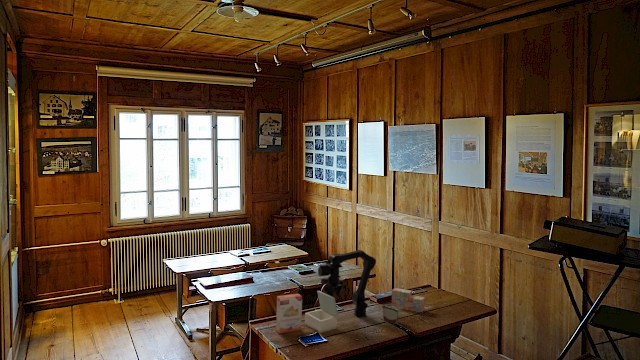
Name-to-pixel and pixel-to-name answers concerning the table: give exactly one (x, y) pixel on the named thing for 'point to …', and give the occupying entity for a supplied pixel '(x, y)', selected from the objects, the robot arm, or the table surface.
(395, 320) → the food container
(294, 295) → the cracker box
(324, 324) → the chest
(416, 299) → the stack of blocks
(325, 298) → the chest lid
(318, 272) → the robot arm
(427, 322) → the table surface
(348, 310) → the table surface
